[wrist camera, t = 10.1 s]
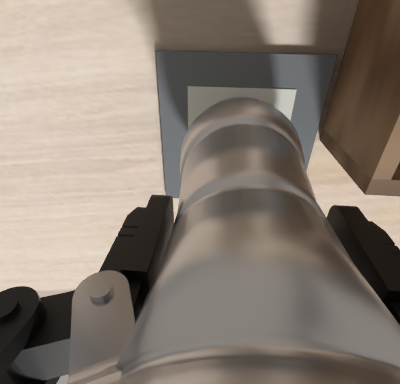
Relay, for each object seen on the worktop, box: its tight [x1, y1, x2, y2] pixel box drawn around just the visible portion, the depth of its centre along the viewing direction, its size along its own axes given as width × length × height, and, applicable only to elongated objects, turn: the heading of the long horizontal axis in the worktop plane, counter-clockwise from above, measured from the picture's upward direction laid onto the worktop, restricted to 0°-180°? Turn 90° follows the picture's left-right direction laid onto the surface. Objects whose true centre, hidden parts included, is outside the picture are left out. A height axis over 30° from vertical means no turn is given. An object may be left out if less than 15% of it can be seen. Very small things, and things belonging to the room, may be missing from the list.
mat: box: [156, 51, 337, 198], centre depth 17 cm, size 10×10×1 cm
